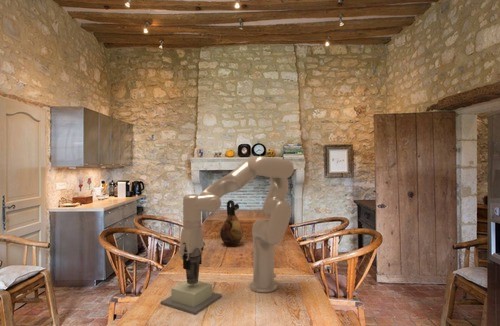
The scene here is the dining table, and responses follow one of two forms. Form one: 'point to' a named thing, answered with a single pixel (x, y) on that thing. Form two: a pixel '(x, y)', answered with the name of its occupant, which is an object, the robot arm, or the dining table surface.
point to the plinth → (191, 309)
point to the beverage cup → (193, 267)
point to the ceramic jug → (231, 227)
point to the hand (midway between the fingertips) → (192, 266)
